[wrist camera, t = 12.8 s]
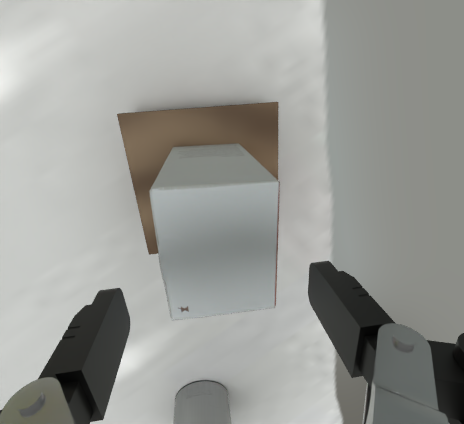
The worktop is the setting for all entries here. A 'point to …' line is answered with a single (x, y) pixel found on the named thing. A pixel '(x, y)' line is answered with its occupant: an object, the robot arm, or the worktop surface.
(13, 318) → the worktop surface
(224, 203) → the small box
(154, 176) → the walnut stand
